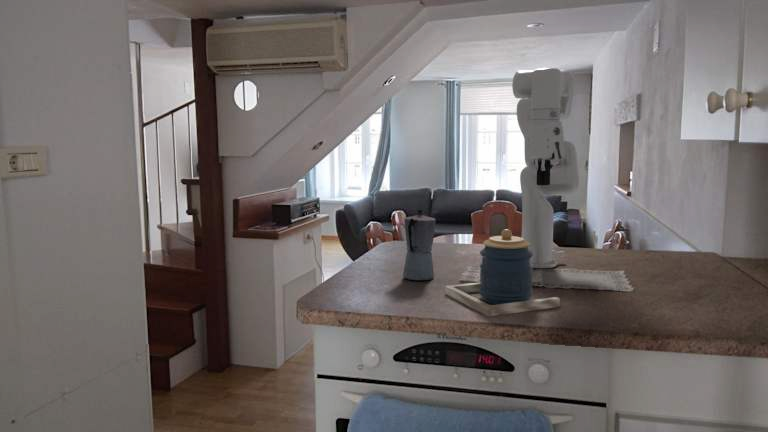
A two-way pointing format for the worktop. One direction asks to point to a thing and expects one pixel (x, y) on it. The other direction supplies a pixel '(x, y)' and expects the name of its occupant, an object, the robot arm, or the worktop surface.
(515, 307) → the bay frame
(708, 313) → the worktop surface
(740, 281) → the worktop surface
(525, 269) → the canister
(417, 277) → the moka pot
